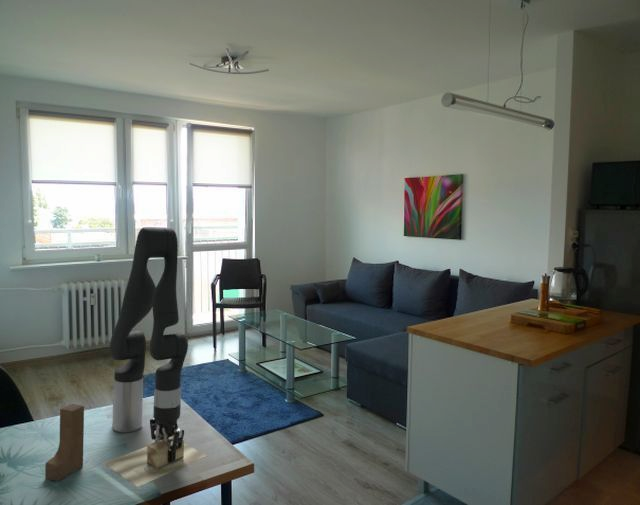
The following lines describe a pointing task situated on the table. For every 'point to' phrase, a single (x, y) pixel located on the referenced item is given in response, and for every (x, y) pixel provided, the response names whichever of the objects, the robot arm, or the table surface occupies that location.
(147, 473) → the board
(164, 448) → the block
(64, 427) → the wooden block
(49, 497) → the table surface
